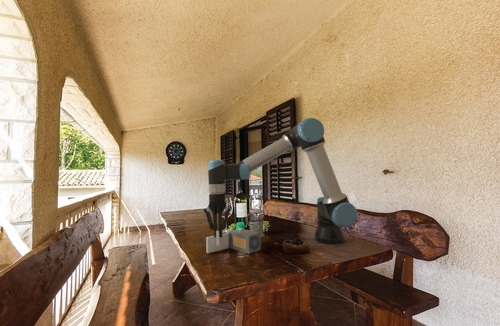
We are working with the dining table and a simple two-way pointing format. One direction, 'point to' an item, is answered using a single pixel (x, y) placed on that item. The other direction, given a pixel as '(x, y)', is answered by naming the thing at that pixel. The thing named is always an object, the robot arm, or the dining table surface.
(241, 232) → the camera block
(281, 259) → the dining table surface
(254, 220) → the french press
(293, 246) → the pastry
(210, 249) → the side door
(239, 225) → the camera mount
